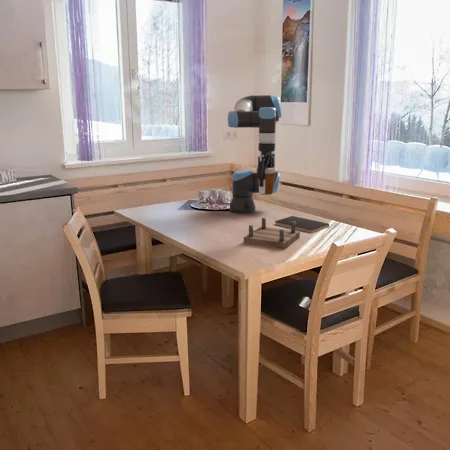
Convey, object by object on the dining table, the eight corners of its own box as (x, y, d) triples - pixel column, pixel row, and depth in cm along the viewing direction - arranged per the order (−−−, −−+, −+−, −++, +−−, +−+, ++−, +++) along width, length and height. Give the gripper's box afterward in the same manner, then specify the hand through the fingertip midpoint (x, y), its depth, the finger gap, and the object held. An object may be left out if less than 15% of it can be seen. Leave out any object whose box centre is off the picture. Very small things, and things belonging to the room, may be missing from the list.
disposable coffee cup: (274, 195, 225) (275, 169, 221) (253, 195, 227) (254, 168, 223) (277, 192, 234) (277, 166, 230) (257, 191, 236) (257, 166, 232)
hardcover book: (311, 234, 243) (311, 229, 243) (274, 225, 259) (274, 221, 258) (329, 227, 254) (329, 223, 254) (292, 219, 270) (293, 215, 269)
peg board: (260, 232, 245) (261, 216, 243) (299, 237, 236) (300, 221, 234) (243, 243, 228) (243, 226, 226) (284, 249, 219) (285, 232, 217)
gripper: (268, 140, 235) (267, 187, 240) (249, 144, 217) (248, 195, 223) (283, 140, 231) (281, 189, 237) (265, 144, 213) (264, 196, 219)
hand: (265, 191), depth 230 cm, fingers closed on disposable coffee cup, 8 cm apart
